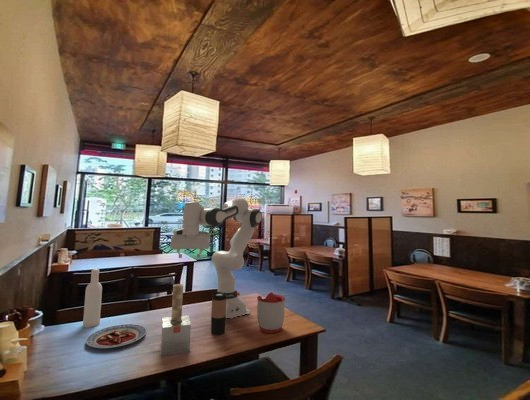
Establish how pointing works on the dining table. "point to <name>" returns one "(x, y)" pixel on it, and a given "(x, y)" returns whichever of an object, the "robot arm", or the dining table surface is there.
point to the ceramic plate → (116, 336)
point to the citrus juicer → (270, 312)
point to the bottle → (92, 301)
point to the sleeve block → (175, 336)
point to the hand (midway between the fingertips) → (189, 257)
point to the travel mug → (218, 313)
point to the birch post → (177, 303)
